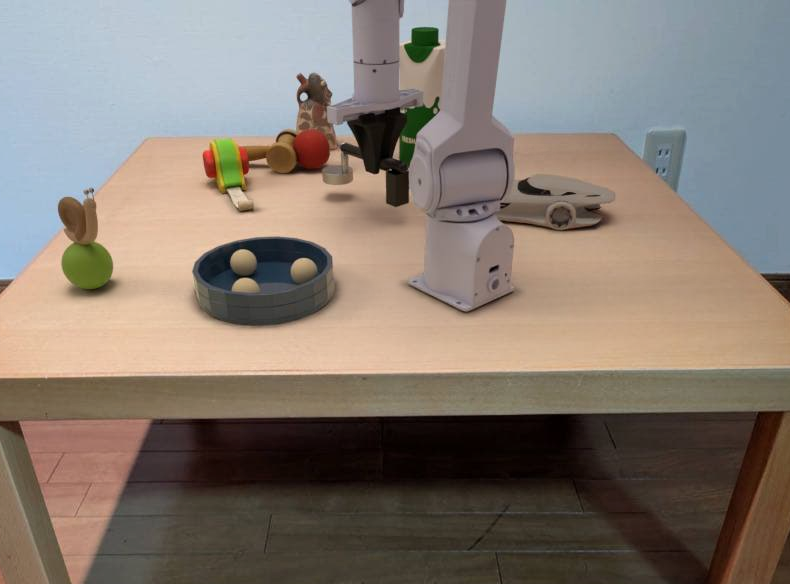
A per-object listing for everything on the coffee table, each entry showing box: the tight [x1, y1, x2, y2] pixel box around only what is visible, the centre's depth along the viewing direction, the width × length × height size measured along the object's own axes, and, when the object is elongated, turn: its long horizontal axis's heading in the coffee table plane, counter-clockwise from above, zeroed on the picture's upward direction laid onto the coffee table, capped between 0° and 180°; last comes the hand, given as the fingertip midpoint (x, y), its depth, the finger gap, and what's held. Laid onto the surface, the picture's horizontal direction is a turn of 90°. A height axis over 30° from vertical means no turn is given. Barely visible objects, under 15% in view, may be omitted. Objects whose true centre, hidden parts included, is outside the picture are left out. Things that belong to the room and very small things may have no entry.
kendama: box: [238, 128, 331, 174], centre depth 117 cm, size 8×6×18 cm
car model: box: [494, 173, 617, 231], centre depth 100 cm, size 11×24×5 cm, turn 78°
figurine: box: [295, 72, 338, 151], centre depth 125 cm, size 7×7×12 cm
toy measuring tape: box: [202, 137, 255, 212], centre depth 108 cm, size 6×20×7 cm, turn 20°
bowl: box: [191, 235, 335, 326], centre depth 81 cm, size 15×15×4 cm
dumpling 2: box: [232, 278, 260, 293], centre depth 78 cm, size 3×3×3 cm
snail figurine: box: [57, 187, 114, 290], centre depth 80 cm, size 5×6×12 cm
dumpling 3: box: [291, 258, 318, 285], centre depth 82 cm, size 3×3×3 cm
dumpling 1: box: [230, 249, 257, 276], centre depth 84 cm, size 3×3×3 cm
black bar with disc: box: [321, 141, 410, 208], centre depth 100 cm, size 17×4×6 cm, turn 40°
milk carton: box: [398, 26, 446, 168], centre depth 114 cm, size 9×9×20 cm
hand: (377, 170), depth 98 cm, fingers closed on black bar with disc
